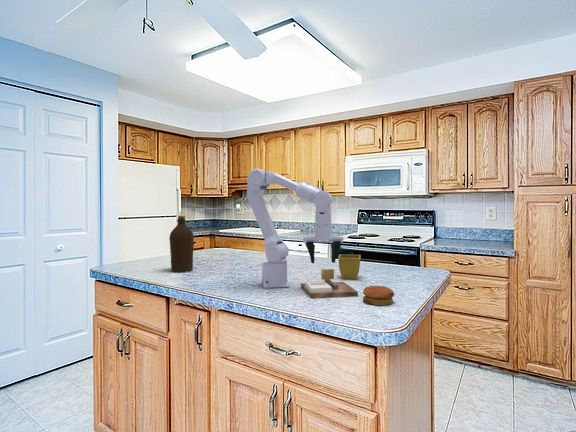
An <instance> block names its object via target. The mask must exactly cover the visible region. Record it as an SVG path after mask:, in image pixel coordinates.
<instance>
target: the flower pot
mask: <svg viewBox="0 0 576 432" xmlns="http://www.w3.org/2000/svg"><path fill="white" fill-rule="evenodd" d="M337 259H338V260H337V261H338V268H339V269H338V270H339V273H340V276H341V277H342V279H344V280H346V279H347V280H352V279H353V280H356V279H357V278H358V275H359V272H360V266H361V254H338V258H337Z"/></svg>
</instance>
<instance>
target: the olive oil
mask: <svg viewBox="0 0 576 432" xmlns="http://www.w3.org/2000/svg"><path fill="white" fill-rule="evenodd" d="M194 239H195V238H194V233H193V231H192V230H191V228H189V227H188V225H187V224H186V215H178V216H177V225H176V226H175V227H174V228H173V229H172V230H171V232H170V234H169V239H168V240H169V250H170V251H169V252H170V269H171V270H170V271H171V272H172V271H173V272H172V273H186V272H185V271H189V272H192V271H193V270H194V268H193V267H194V241H195V240H194ZM191 270H192V271H191Z"/></svg>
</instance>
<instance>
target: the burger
mask: <svg viewBox="0 0 576 432" xmlns="http://www.w3.org/2000/svg"><path fill="white" fill-rule="evenodd" d="M362 292H363V295H364V296H362V301H363V302H364V303H368V304H370V305H375V306H390V305H393V301H394V297H395V293H394V290H393V289H392V288H390V287H388V286H384V285H383V286H382V285H368V286H366V287H364V288H363V290H362Z"/></svg>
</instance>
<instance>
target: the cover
mask: <svg viewBox="0 0 576 432" xmlns="http://www.w3.org/2000/svg"><path fill="white" fill-rule="evenodd" d="M304 283H305V287H306V288H307V289H308V290H309V291H310V292H311V293H321V292H332V287H331V286H330V285H328V284H327V283H326V282H325V280H317V281H316V280H315V281H304Z"/></svg>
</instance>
